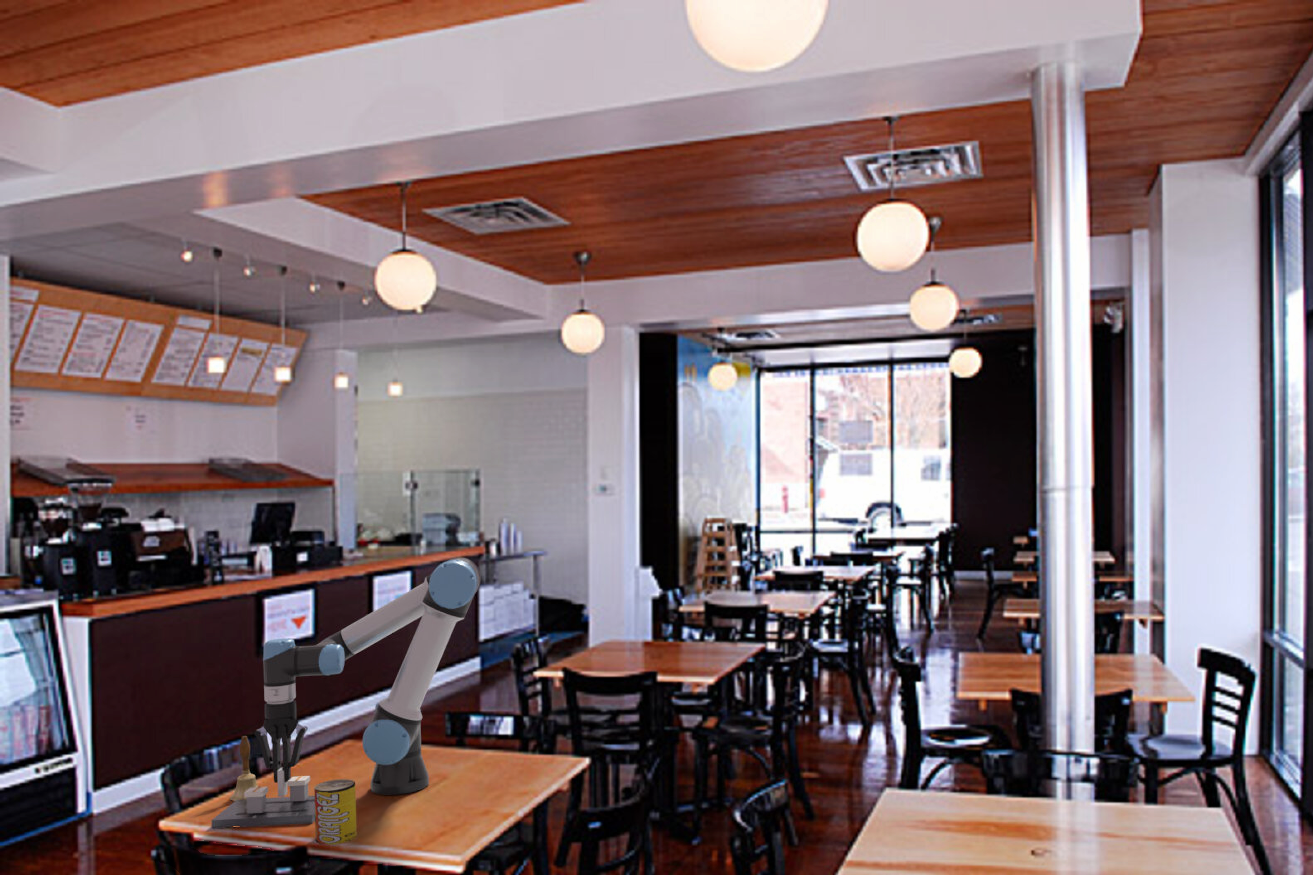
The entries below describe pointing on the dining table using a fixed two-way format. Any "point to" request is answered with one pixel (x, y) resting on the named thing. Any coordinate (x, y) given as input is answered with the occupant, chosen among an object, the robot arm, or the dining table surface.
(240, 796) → the hand bell
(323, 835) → the beverage can
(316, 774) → the dining table surface
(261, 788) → the fader near
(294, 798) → the block
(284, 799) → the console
